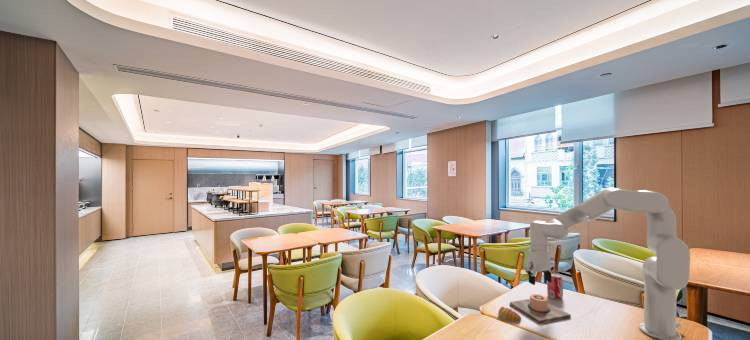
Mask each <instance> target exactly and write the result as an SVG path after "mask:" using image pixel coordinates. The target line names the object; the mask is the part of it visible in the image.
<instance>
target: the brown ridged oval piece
mask: <svg viewBox="0 0 750 340" xmlns="http://www.w3.org/2000/svg"><path fill="white" fill-rule="evenodd" d="M497 312H498V315H497V316H499V317H500V318H501V319H503V320H506V321H509V322H512V323H520V322H521V321H522V317H521V316H520V315H519V313H517V312H516V311H514V310H513V309H512V308H508V307H504V306H501V307H500V308H499V310H498V311H497Z"/></svg>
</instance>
